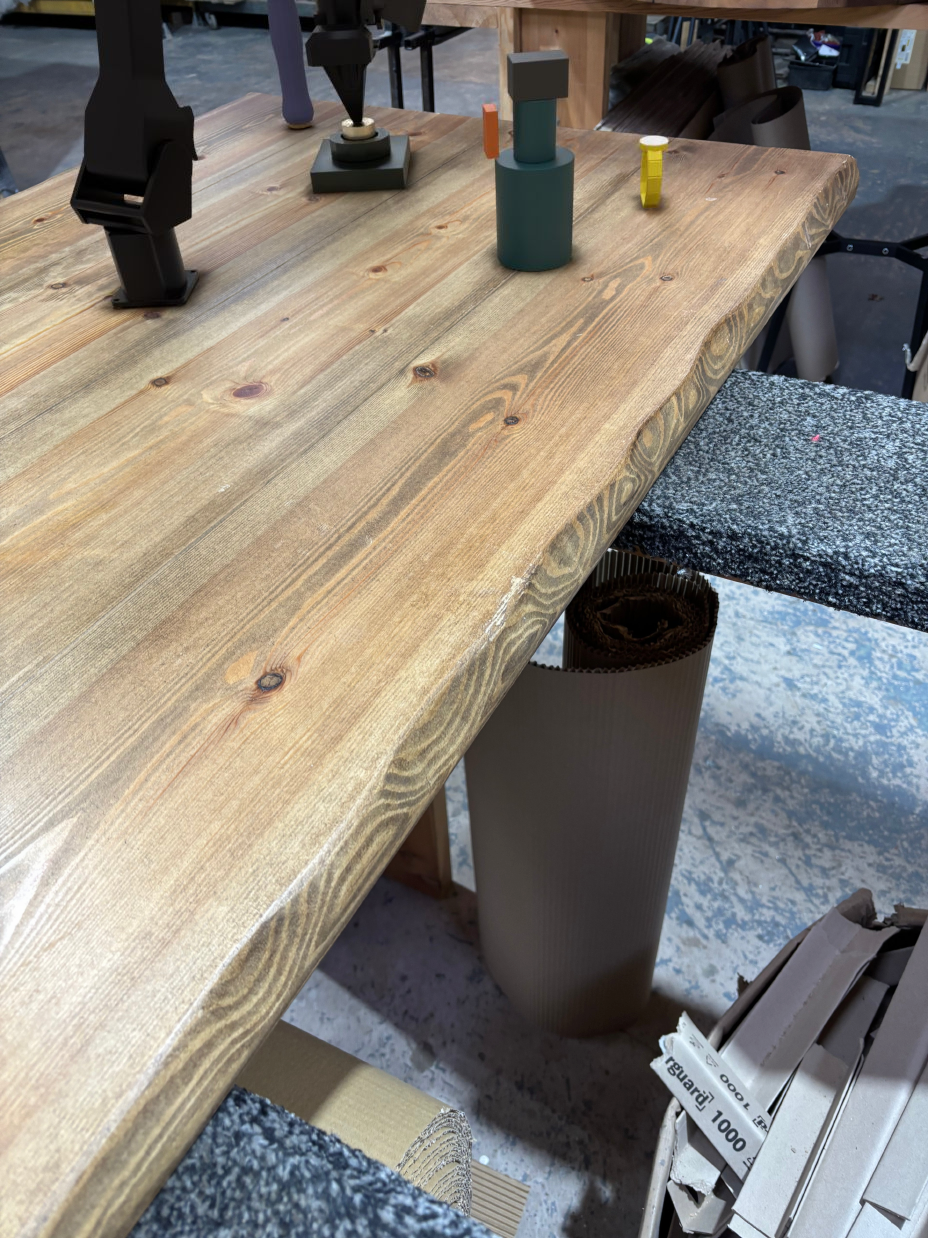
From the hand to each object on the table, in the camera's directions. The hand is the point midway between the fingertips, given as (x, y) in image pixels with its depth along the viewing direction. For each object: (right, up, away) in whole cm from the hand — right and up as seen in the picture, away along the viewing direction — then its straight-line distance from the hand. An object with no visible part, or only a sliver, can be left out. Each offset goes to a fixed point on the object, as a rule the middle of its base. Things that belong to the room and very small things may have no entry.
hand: (357, 121), depth 101 cm
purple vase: (-10, +9, +19) cm, 23 cm away
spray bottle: (+18, -21, -16) cm, 32 cm away
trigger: (+14, -15, -23) cm, 30 cm away
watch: (+30, -13, -8) cm, 34 cm away
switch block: (0, -4, +4) cm, 5 cm away
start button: (0, -1, +1) cm, 2 cm away
